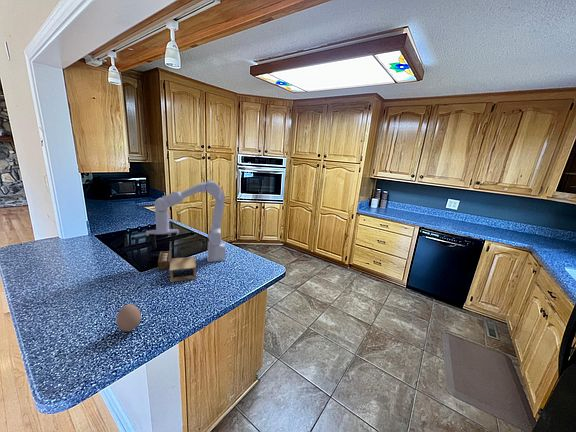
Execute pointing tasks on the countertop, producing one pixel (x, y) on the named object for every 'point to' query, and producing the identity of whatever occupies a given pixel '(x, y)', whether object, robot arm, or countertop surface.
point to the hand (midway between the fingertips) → (163, 247)
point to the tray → (166, 263)
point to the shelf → (182, 267)
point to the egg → (128, 317)
